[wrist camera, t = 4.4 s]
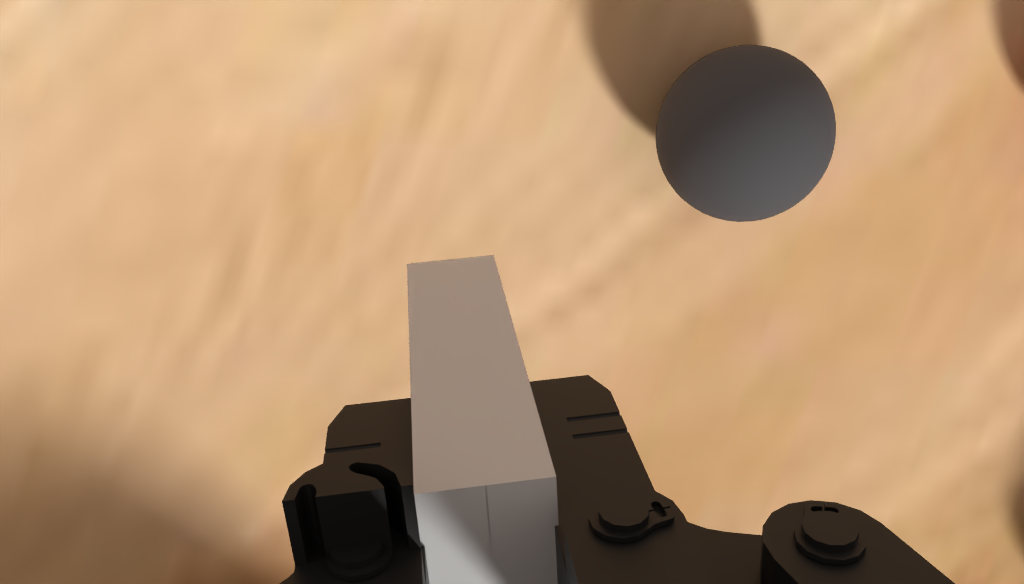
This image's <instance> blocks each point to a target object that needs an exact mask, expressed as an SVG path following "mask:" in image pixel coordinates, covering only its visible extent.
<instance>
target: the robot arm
mask: <svg viewBox="0 0 1024 584" xmlns="http://www.w3.org/2000/svg"><path fill="white" fill-rule="evenodd" d="M407 278H408V312H409V347H410V381H411V398H406V399H398V400H389V401H380V402H372V403H363V404H354V405H346V406H345V407H344V408H343V409H342V410H341V411H340V413H339V414H338V415H337V416H336V418H335V419H334V420H333V421H332V422H331V424H330V425H329V426H328V431H327V438H326V446H325V454H324V461H323V464H321V465H319V466H317V467H315V468H313V469H311V470H309V471H307V472H305V473H304V474H303V475H302V476H301V477H299V478H298V479H297V480H296V481H295V482H294V483H292V484H291V485H290V486H289V488H288V490H287V492H286V494H285V496H284V498H283V500H282V503H283V508H284V513H285V518H286V523H287V528H288V532H289V537H290V542H291V547H292V552H293V557H294V562H295V571H294V573H293V574H292V575H291V576H290V577H289V578H287V579H286V580H284V581H283V582H281V583H280V584H955V583H953V582H952V581H951V580H950V579H949V578H947V577H946V576H945V575H944V574H943V573H941V572H940V571H939V570H938V569H936V568H935V567H934V566H933V565H932V564H930V563H929V562H928V561H927V560H925V559H924V558H923V557H922V556H921V555H919V554H918V553H917V552H916V551H914V550H913V549H912V548H911V547H910V546H908V545H907V544H906V543H905V542H904V541H902V540H901V539H900V538H899V537H897V536H896V535H895V534H894V533H893V532H891V531H890V530H889V529H888V528H886V527H885V526H884V525H883V524H882V523H880V522H879V521H877V520H875V519H874V518H872V517H870V516H869V515H867V514H865V513H864V512H862V511H860V510H857V509H854V508H851V507H848V506H845V505H842V504H839V503H835V502H823V501H812V500H810V501H804V502H798V503H791V504H788V505H786V506H784V507H782V508H780V509H778V510H776V511H774V512H772V513H771V515H770V516H769V518H768V519H767V521H766V522H765V524H764V525H763V532H762V535H752V534H742V533H731V532H723V531H717V530H711V529H706V528H703V527H700V526H697V525H694V524H691V523H689V522H687V521H686V518H685V516H684V514H683V513H682V512H681V511H680V509H679V508H678V507H677V506H676V504H675V503H674V502H673V501H672V500H670V499H669V498H667V497H665V496H663V495H661V494H660V493H658V492H656V491H655V490H654V488H653V486H652V483H651V481H650V479H649V477H648V474H647V472H646V470H645V468H644V466H643V463H642V461H641V459H640V457H639V454H638V452H637V450H636V448H635V445H634V443H633V441H632V439H631V436H630V434H629V433H627V428H626V425H625V423H624V421H623V419H622V416H620V414H619V410H618V407H617V405H616V403H615V401H614V399H613V396H612V394H611V392H610V391H609V390H608V389H607V388H605V387H604V386H603V385H601V384H600V383H598V382H597V381H596V380H594V379H593V378H592V377H590V376H589V375H585V376H576V377H567V378H559V379H550V380H541V381H533V382H529V379H528V375H527V372H526V368H525V365H524V361H523V358H522V354H521V351H520V347H519V344H518V340H517V336H516V333H515V329H514V326H513V322H512V319H511V315H510V312H509V308H508V305H507V301H506V298H505V294H504V291H503V287H502V284H501V280H500V276H499V273H498V269H497V266H496V262H495V259H494V255H490V256H480V257H470V258H460V259H450V260H440V261H431V262H421V263H411V264H407Z"/></svg>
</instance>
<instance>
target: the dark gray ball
mask: <svg viewBox="0 0 1024 584" xmlns="http://www.w3.org/2000/svg"><path fill="white" fill-rule="evenodd" d="M835 136H836V122H835V113H834V109H833V105H832V102H831V100H830V98H829V95H828V93H827V90H826V89H825V87H824V85H823V84H822V82H821V81H820V79H819V78H818V77H817V76H816V74H815V73H814V72H813V71H812V70H811V69H810V68H809V67H808V66H807V65H805V64H804V63H803V62H802V61H800V60H799V59H797V58H796V57H794V56H792V55H790V54H788V53H786V52H783V51H781V50H778V49H775V48H771V47H766V46H759V45H740V46H734V47H728V48H725V49H722V50H718V51H716V52H713V53H711V54H709V55H707V56H705V57H703V58H702V59H700V60H698V61H697V62H696V63H694V64H693V65H692V66H690V67H689V68H688V69H687V70H686V71H685V72H684V73H683V74H682V75H681V76H680V77H679V78H678V79H677V80H676V82H675V83H674V84H673V85H672V87H671V89H670V90H669V92H668V94H667V95H666V98H665V100H664V102H663V104H662V107H661V110H660V113H659V116H658V121H657V127H656V148H657V153H658V158H659V162H660V165H661V167H662V170H663V173H664V174H665V176H666V178H667V180H668V182H669V183H670V185H671V186H672V187H673V189H674V190H675V191H676V193H677V194H678V195H679V196H680V197H681V198H682V199H683V200H684V201H686V202H687V203H688V204H690V205H691V206H692V207H694V208H695V209H697V210H699V211H701V212H702V213H704V214H707V215H709V216H712V217H715V218H718V219H723V220H727V221H737V222H742V221H756V220H762V219H766V218H769V217H772V216H775V215H777V214H779V213H782V212H784V211H786V210H788V209H789V208H791V207H793V206H794V205H796V204H797V203H799V202H800V201H801V200H802V199H804V198H805V197H806V196H807V195H808V194H809V193H810V192H811V191H812V190H813V188H814V187H815V186H816V185H817V184H818V182H819V181H820V179H821V178H822V176H823V175H824V173H825V171H826V169H827V167H828V165H829V162H830V160H831V157H832V153H833V150H834V144H835Z"/></svg>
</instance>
